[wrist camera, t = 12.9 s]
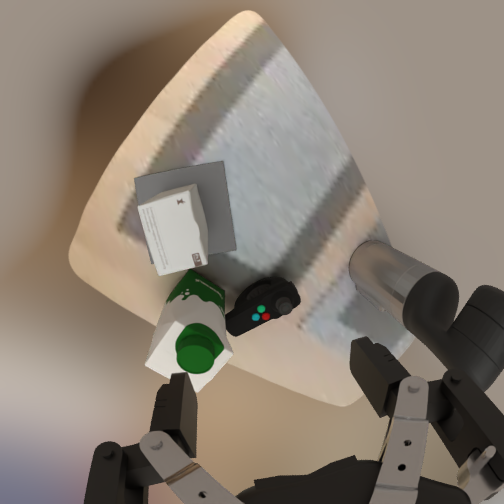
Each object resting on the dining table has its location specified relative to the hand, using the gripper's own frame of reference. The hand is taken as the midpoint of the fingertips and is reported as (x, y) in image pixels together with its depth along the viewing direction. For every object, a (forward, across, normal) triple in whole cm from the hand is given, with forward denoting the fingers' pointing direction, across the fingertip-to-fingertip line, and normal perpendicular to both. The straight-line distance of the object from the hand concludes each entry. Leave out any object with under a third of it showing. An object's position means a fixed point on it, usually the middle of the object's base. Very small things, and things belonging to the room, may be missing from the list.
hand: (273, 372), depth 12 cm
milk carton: (+33, +8, +10) cm, 36 cm away
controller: (+33, -2, +11) cm, 35 cm away
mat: (+33, +7, -4) cm, 34 cm away
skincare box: (+32, +7, -4) cm, 33 cm away
